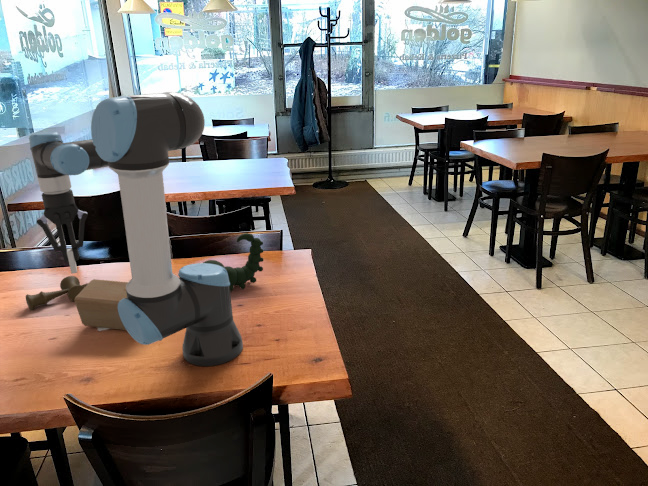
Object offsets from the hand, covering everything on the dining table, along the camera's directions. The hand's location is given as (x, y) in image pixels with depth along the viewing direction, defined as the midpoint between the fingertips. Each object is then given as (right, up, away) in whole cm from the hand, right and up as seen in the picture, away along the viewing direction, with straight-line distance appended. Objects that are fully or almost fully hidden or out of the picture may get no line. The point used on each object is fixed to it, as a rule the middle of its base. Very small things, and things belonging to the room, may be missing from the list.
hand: (74, 271), depth 147 cm
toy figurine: (+40, -7, +22) cm, 46 cm away
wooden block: (+3, -9, +1) cm, 9 cm away
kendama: (-12, -11, +18) cm, 25 cm away
